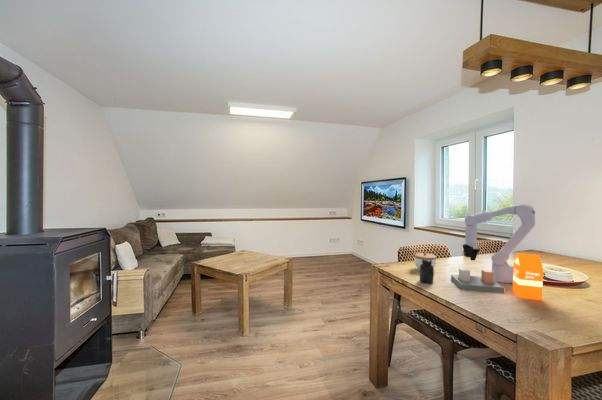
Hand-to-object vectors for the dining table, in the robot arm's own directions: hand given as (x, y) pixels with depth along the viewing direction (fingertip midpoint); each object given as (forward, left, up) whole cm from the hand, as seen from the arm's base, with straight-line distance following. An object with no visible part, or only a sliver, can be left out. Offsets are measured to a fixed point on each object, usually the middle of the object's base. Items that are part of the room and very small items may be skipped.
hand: (470, 258), depth 162 cm
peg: (-1, +20, -9) cm, 22 cm away
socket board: (+4, +20, -9) cm, 22 cm away
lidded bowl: (+24, -4, -10) cm, 26 cm away
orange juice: (-14, +30, -10) cm, 34 cm away
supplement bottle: (+28, +20, -10) cm, 36 cm away
